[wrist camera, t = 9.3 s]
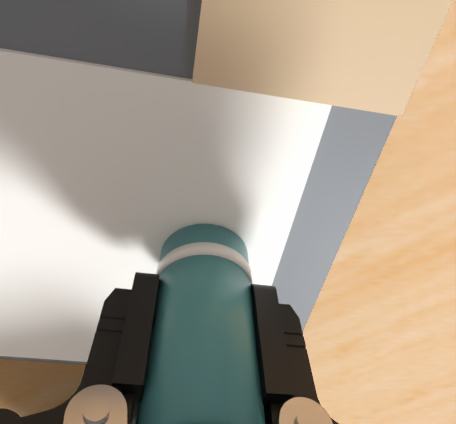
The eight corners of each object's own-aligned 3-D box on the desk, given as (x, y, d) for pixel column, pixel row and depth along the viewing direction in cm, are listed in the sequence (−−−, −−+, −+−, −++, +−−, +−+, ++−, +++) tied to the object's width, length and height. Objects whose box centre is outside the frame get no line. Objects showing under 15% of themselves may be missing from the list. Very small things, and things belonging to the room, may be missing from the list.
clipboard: (-250, -363, 7) (-343, -422, 6) (498, -164, 9) (543, -179, 7) (-30, 339, 18) (-46, 368, 16) (279, 362, 19) (284, 390, 18)
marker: (165, 213, 13) (117, 524, 6) (262, 230, 13) (309, 532, 7) (151, 282, 14) (104, 576, 8) (237, 294, 15) (256, 579, 9)
